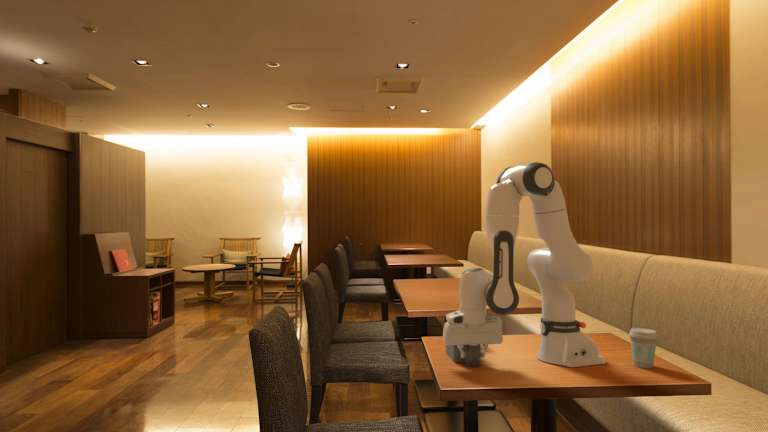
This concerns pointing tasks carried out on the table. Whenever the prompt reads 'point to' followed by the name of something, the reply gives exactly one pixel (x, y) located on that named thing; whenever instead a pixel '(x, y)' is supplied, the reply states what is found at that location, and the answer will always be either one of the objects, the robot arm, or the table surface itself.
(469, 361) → the lens
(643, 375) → the table surface
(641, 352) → the coffee cup
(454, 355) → the camera body
